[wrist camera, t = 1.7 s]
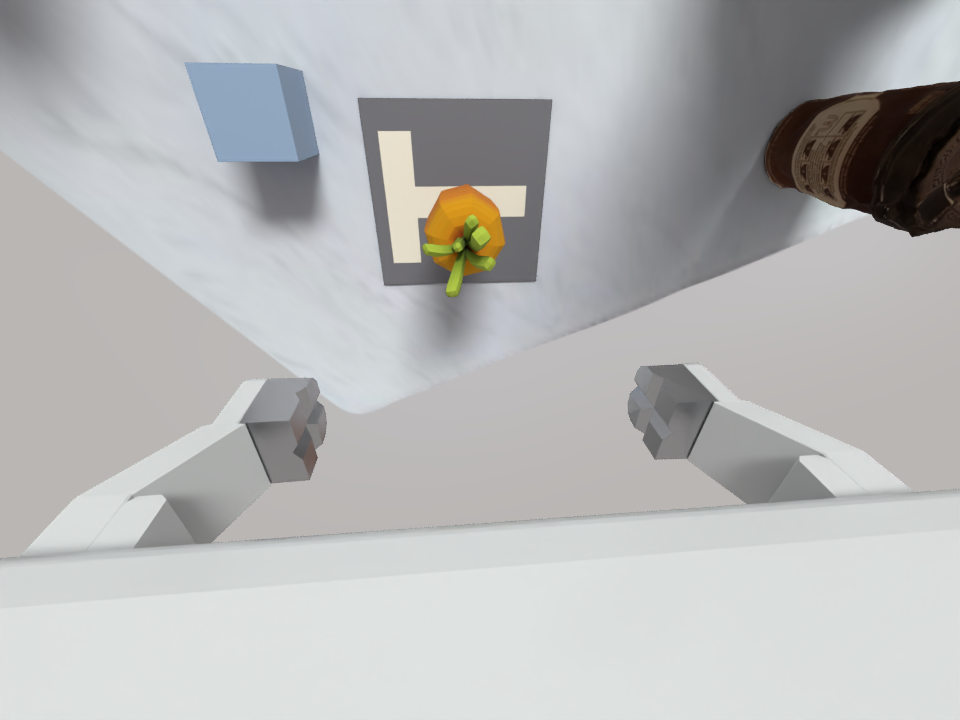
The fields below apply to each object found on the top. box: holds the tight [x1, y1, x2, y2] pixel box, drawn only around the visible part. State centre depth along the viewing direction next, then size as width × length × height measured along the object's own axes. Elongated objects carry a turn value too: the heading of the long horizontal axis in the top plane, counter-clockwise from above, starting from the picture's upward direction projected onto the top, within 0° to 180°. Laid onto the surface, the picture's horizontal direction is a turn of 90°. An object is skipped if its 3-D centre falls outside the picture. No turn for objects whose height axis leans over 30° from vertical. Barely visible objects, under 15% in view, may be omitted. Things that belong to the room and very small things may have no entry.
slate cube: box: [185, 63, 319, 162], centre depth 25 cm, size 5×5×5 cm
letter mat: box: [358, 98, 552, 285], centre depth 31 cm, size 14×14×1 cm
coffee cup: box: [765, 81, 960, 237], centre depth 26 cm, size 9×8×13 cm
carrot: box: [422, 184, 505, 297], centre depth 25 cm, size 5×5×15 cm
